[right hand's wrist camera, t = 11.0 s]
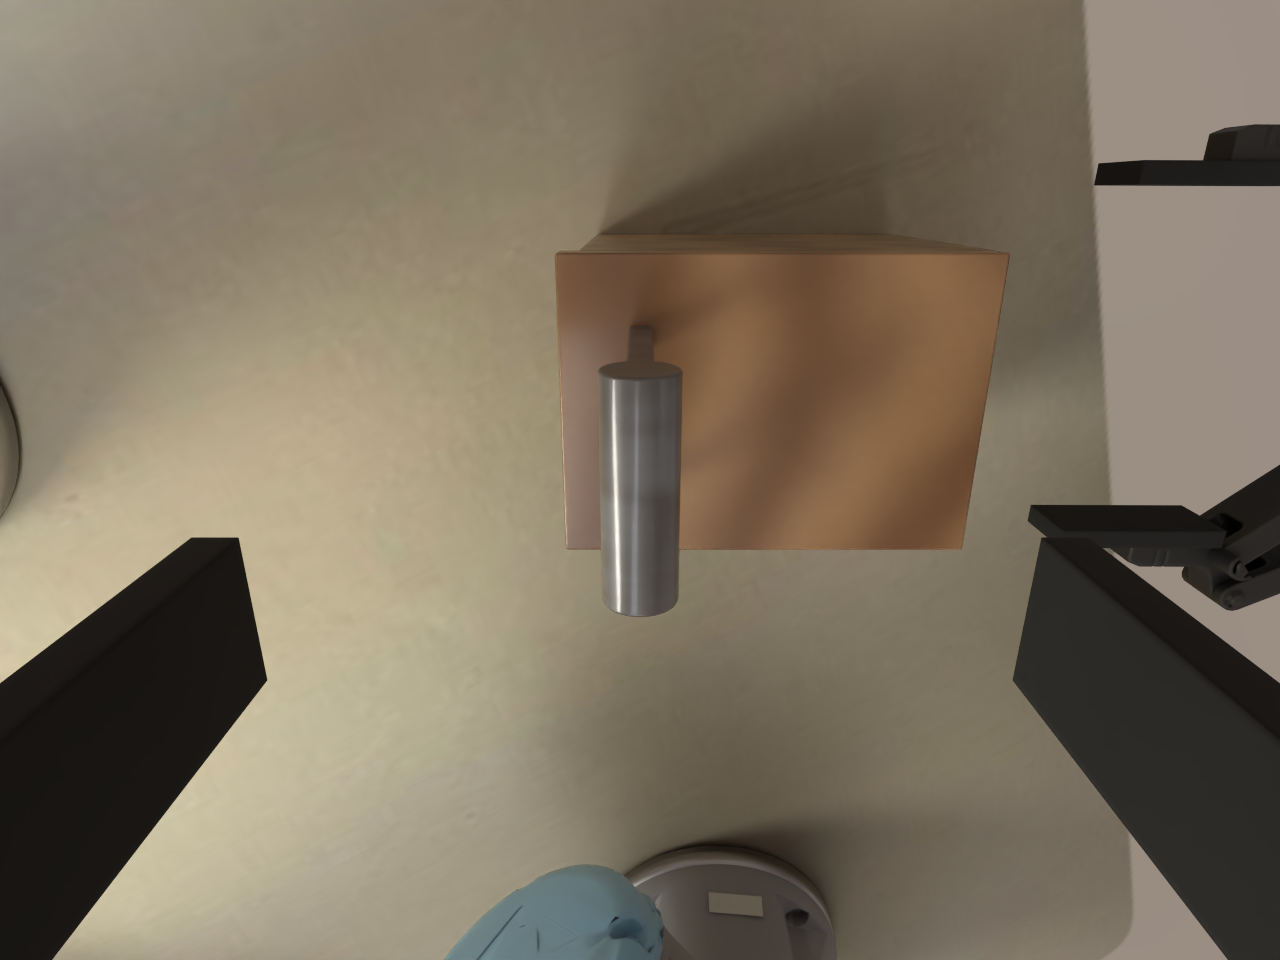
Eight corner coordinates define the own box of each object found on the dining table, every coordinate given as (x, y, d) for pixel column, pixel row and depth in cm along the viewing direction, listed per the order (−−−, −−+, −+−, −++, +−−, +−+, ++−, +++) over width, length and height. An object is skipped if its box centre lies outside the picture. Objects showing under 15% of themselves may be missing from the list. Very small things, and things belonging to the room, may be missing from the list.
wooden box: (601, 443, 37) (585, 537, 27) (597, 234, 34) (578, 250, 24) (865, 443, 37) (951, 537, 27) (888, 234, 34) (996, 250, 24)
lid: (568, 538, 27) (535, 689, 19) (558, 250, 24) (512, 279, 15) (951, 538, 27) (1089, 689, 19) (996, 250, 24) (1189, 280, 15)
